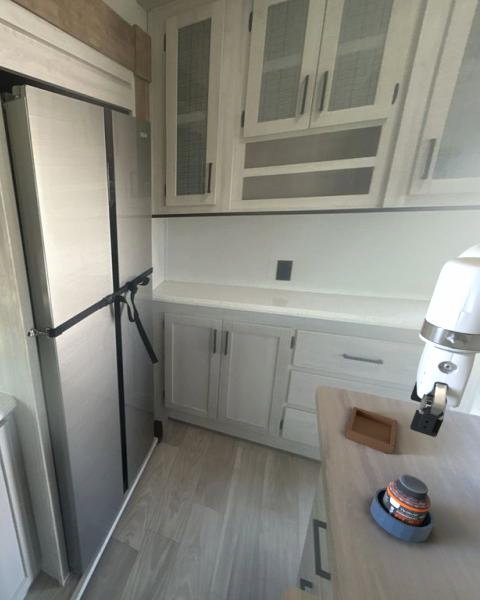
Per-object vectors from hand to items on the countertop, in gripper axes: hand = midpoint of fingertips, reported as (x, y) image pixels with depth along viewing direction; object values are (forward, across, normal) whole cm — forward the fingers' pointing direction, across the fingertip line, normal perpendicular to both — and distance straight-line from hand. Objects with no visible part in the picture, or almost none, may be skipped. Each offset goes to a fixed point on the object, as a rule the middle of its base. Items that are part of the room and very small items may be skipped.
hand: (422, 416), depth 60 cm
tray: (+25, +24, +4) cm, 35 cm away
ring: (+25, -2, -2) cm, 25 cm away
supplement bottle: (+25, -2, -2) cm, 25 cm away
